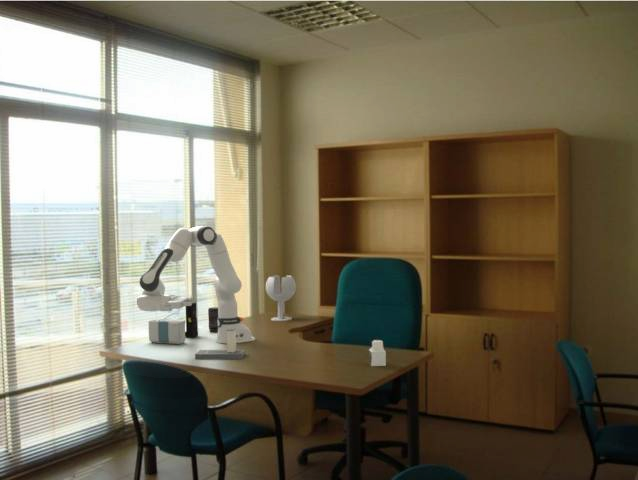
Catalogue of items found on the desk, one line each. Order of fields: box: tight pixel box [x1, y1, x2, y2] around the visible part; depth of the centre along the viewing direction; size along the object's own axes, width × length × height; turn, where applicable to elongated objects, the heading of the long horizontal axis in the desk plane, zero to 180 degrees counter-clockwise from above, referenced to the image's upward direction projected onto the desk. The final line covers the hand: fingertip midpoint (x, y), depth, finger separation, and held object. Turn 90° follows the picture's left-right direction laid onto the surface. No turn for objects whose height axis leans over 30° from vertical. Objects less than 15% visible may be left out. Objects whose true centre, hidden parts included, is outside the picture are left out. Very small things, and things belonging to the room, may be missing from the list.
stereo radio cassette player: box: [148, 309, 186, 345], centre depth 393 cm, size 21×8×20 cm, turn 68°
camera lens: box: [207, 306, 218, 333], centre depth 427 cm, size 8×8×15 cm
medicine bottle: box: [368, 338, 387, 367], centre depth 330 cm, size 7×7×12 cm
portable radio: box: [185, 297, 199, 339], centre depth 410 cm, size 8×6×25 cm
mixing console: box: [194, 349, 246, 360], centre depth 353 cm, size 24×11×3 cm, turn 86°
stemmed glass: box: [265, 274, 297, 322], centre depth 470 cm, size 20×20×30 cm
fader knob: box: [226, 328, 237, 352], centre depth 353 cm, size 4×5×12 cm
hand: (193, 302), depth 359 cm, fingers open, 8 cm apart
